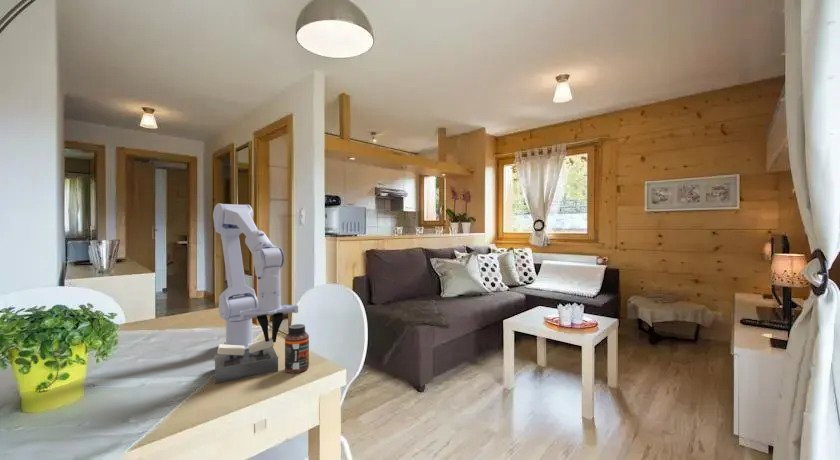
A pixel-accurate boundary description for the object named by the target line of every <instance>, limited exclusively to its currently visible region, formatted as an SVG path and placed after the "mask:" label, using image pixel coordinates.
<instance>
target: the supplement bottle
mask: <svg viewBox="0 0 840 460" xmlns="http://www.w3.org/2000/svg"><path fill="white" fill-rule="evenodd" d="M309 367H310V335H309V334H308V333H307V332H306V325H305V324H301V323H298V324H297V323H296V324H292V325H289V326H288V333H287V334H286V335H285V338H284V370H285V371H286V372H287V373H291V374H297V373H302V372H305V371H307V370H308V368H309Z"/></svg>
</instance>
